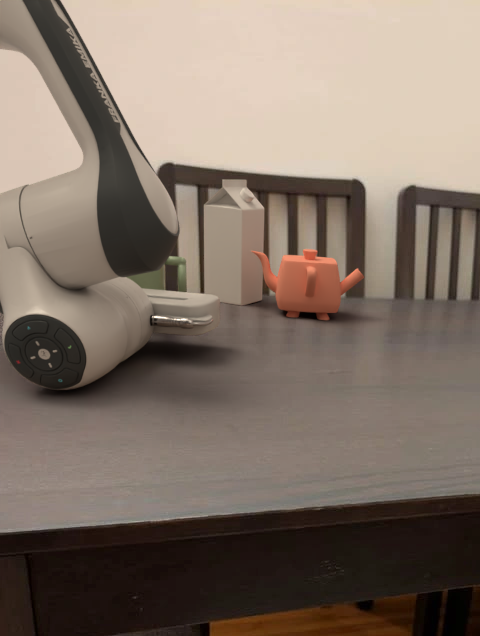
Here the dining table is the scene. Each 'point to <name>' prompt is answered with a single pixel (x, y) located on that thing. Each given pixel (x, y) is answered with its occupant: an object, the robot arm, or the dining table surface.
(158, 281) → the mug
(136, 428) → the dining table surface
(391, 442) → the dining table surface
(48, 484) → the dining table surface
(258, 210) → the milk carton
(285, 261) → the teapot
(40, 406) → the dining table surface
